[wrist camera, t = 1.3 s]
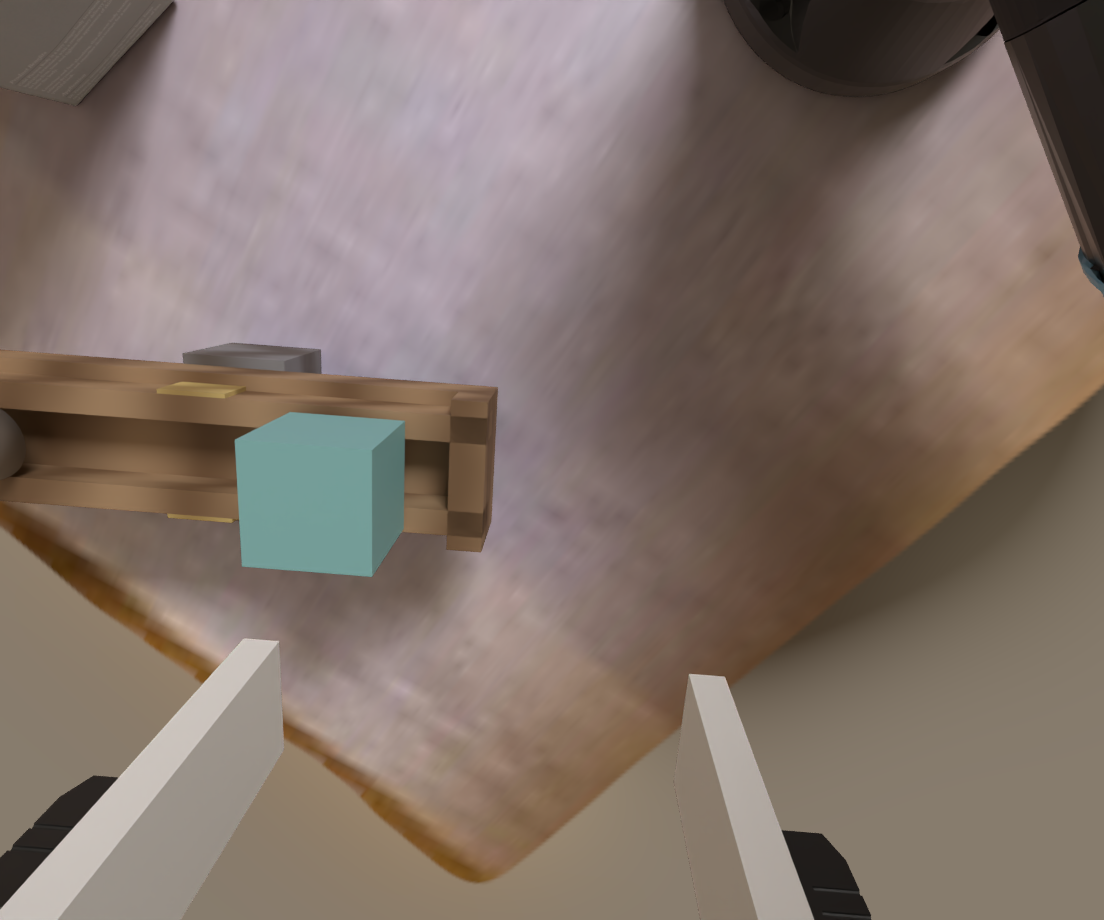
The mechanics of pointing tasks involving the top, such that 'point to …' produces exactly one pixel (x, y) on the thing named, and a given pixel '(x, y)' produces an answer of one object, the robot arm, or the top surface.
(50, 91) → the skincare box
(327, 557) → the block
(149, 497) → the beam
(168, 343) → the top surface
